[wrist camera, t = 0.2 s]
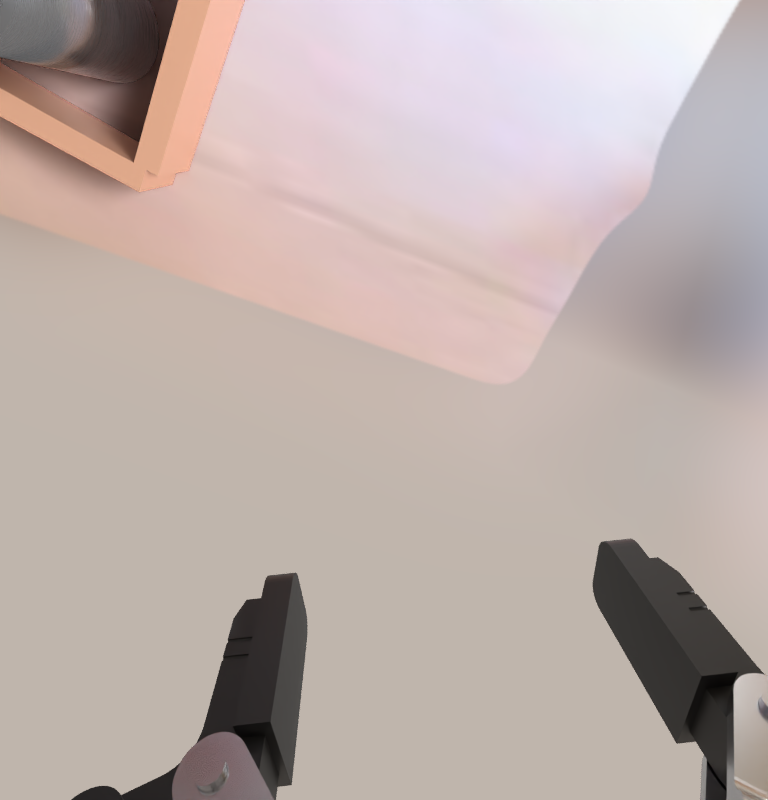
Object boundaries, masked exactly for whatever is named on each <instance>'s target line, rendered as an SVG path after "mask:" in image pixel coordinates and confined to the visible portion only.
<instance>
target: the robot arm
mask: <svg viewBox="0 0 768 800" xmlns="http://www.w3.org/2000/svg"><path fill="white" fill-rule="evenodd" d="M593 592H594V596H595V600H596V602H597V605H598V607H599V609H600V611H601V612H602V614H603V616H604V618H605V619H606V621H607V623H608V624H609V626H610V628H611V630H612V631H613V633H614V635H615V637H616V638H617V640H618V642H619V643H620V645H621V647H622V649H623V651H624V652H625V654H626V656H627V658H628V659H629V661H630V663H631V664H632V666H633V668H634V670H635V672H636V673H637V675H638V677H639V679H640V680H641V682H642V684H643V685H644V687H645V689H646V691H647V692H648V694H649V696H650V698H651V699H652V701H653V703H654V705H655V706H656V708H657V710H658V712H659V713H660V715H661V717H662V719H663V720H664V722H665V724H666V726H667V727H668V729H669V731H670V732H671V734H672V736H673V738H674V740H675V741H676V743H686V742H694V741H696V742H697V744H698V746H699V747H700V749H701V751H702V752H703V754H704V757H703V760H702V771H701V795H700V800H768V675H765V674H764V673H763V672H762V671H761V670H760V669H759V668H758V667H757V666H756V664H755V663H754V662H753V661H752V660H751V658H750V657H749V656H748V655H747V654H746V652H745V651H744V650H743V649H742V648H741V646H740V645H739V644H738V643H737V642H736V640H735V639H734V638H733V637H732V635H731V634H730V633H729V632H728V631H727V630H726V628H725V627H724V626H723V625H722V623H721V622H720V621H719V620H718V619H717V617H716V616H715V615H714V614H713V613H712V612H711V610H708V609H707V606H706V604H705V603H704V602H703V601H702V599H701V598H700V597H699V596H698V595H697V594H695V593H694V590H693V589H692V587H691V586H690V585H689V584H688V583H687V581H686V580H685V579H684V578H683V577H682V575H681V574H680V573H679V572H678V571H676V570H675V569H674V568H672V567H671V566H669V565H668V564H667V563H665V562H664V561H662V560H661V559H659V558H658V557H657V558H649V557H648V556H647V555H646V553H645V552H644V551H643V549H642V548H641V547H640V546H639V544H638V543H637V542H636V541H635V540H633V539H623V540H614V541H604V542H601V543H600V545H599V550H598V555H597V561H596V567H595V572H594V578H593ZM306 642H307V616H306V609H305V605H304V601H303V596H302V592H301V588H300V584H299V579H298V575H297V573H289V574H280V575H270V576H267V578H266V580H265V584H264V588H263V593H262V597H261V598H260V599H250V600H246V602H245V603H244V605H243V606H242V607H241V609H240V610H239V612H238V613H237V615H236V616H235V618H234V620H233V623H232V627H231V630H230V634H229V638H228V643H227V645H226V648H225V652H224V655H223V661H222V663H221V666H220V670H219V674H218V677H217V681H216V684H215V688H214V691H213V695H212V699H211V702H210V706H209V709H208V713H207V717H206V720H205V724H204V727H203V730H202V733H201V735H200V737H199V739H198V741H197V743H196V744H195V745H194V746H193V747H192V748H191V749H190V750H189V751H188V752H187V754H186V755H185V756H184V758H183V759H182V761H181V762H180V763H179V764H178V765H177V766H176V767H175V768H174V769H172V770H171V771H169V772H168V773H166V774H164V775H162V776H161V777H158V778H156V779H154V780H152V781H150V782H148V783H146V784H144V785H142V786H140V787H138V788H135V789H133V790H131V791H129V792H127V793H125V794H123V795H120V793H119V792H118V791H117V790H115V789H114V788H112V787H109V786H98V787H94V788H91V789H89V790H86V791H84V792H82V793H80V794H79V795H77V796H76V797H74V798H73V799H72V800H276V794H277V787H278V786H287V785H292V776H293V765H294V757H295V747H296V737H297V728H298V719H299V709H300V699H301V690H302V680H303V671H304V661H305V651H306Z"/></svg>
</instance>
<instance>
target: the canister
mask: <svg viewBox="0 0 768 800" xmlns="http://www.w3.org/2000/svg"><path fill="white" fill-rule="evenodd" d="M158 46H159V32H158V25H157V21H156V17H155V14H154V11H153V9H152V6H151V4H150V2H149V0H0V57H1V58H6V59H10V60H15V61H20V62H24V63H29V64H33V65H38V66H42V67H47V68H51V69H56V70H60V71H65V72H70V73H74V74H79V75H83V76H88V77H92V78H97V79H101V80H106V81H111V82H115V83H130V82H134V81H136V80H139V79H140V78H142V77H143V76H145V75H146V74H147V73H148V72H149V70H150V69H151V67H152V66H153V64H154V62H155V59H156V56H157V52H158Z"/></svg>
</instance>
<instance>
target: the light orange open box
mask: <svg viewBox="0 0 768 800" xmlns="http://www.w3.org/2000/svg"><path fill="white" fill-rule="evenodd" d="M244 2H245V0H178V3H177V7H176V11H175V14H174V18H173V22H172V25H171V29H170V32H169V36H168V40H167V43H166V47H165V51H164V54H163V58H162V62H161V65H160V69H159V73H158V76H157V80H156V83H155V87H154V91H153V94H152V98H151V102H150V105H149V109H148V113H147V116H146V120H145V124H144V127H143V131H142V134H141V138H140V142H138V141H136V140H134V139H132V138H131V137H129V136H127V135H126V134H124V133H122V132H120V131H119V130H117V129H115V128H113V127H112V126H110V125H108V124H106V123H105V122H103V121H101V120H99V119H98V118H96V117H94V116H92V115H91V114H89V113H87V112H85V111H84V110H82V109H80V108H79V107H77V106H75V105H73V104H72V103H70V102H68V101H66V100H65V99H63V98H61V97H59V96H58V95H56V94H54V93H52V92H51V91H49V90H47V89H45V88H44V87H42V86H40V85H38V84H37V83H35V82H33V81H32V80H30V79H28V78H26V77H25V76H23V75H21V74H19V73H18V72H16V71H14V70H12V69H11V68H9V67H7V66H5V65H4V64H2V63H1V57H0V117H2V118H4V119H6V120H8V121H9V122H11V123H13V124H15V125H17V126H19V127H20V128H22V129H24V130H26V131H28V132H30V133H31V134H33V135H35V136H37V137H39V138H41V139H42V140H44V141H46V142H48V143H50V144H52V145H54V146H55V147H57V148H59V149H61V150H63V151H65V152H66V153H68V154H70V155H72V156H74V157H76V158H77V159H79V160H81V161H83V162H85V163H87V164H88V165H90V166H92V167H94V168H96V169H98V170H99V171H101V172H103V173H105V174H107V175H109V176H110V177H112V178H114V179H116V180H118V181H120V182H121V183H123V184H125V185H127V186H129V187H131V188H133V189H134V190H136V191H138V192H142V191H147V190H151V189H155V188H160V187H164V186H168V185H172V184H173V182H174V178H175V175H176V173H179V172H185V171H189V168H190V165H191V162H192V159H193V156H194V153H195V150H196V147H197V144H198V141H199V138H200V135H201V132H202V129H203V126H204V123H205V120H206V117H207V114H208V111H209V108H210V105H211V102H212V99H213V96H214V93H215V90H216V87H217V84H218V81H219V78H220V75H221V72H222V68H223V65H224V62H225V59H226V56H227V53H228V50H229V47H230V44H231V41H232V38H233V35H234V32H235V29H236V26H237V23H238V20H239V17H240V14H241V11H242V8H243V5H244Z"/></svg>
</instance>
